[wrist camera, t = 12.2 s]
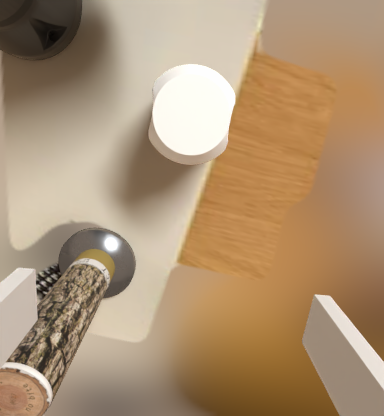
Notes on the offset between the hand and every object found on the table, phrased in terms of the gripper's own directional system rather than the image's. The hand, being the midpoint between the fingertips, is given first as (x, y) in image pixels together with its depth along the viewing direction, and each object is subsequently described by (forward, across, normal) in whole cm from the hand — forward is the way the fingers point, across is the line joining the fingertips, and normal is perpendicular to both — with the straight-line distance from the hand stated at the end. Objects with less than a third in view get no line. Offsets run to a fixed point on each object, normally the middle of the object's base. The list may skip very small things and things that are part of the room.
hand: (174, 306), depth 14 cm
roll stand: (+35, -14, -17) cm, 41 cm away
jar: (+35, 0, +9) cm, 36 cm away
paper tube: (+34, -14, -17) cm, 40 cm away
